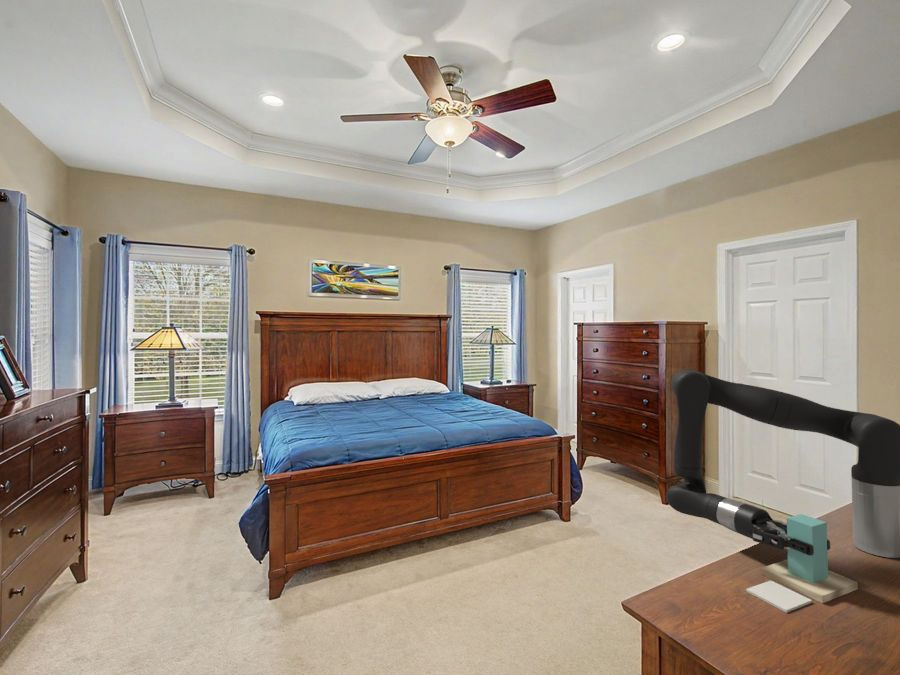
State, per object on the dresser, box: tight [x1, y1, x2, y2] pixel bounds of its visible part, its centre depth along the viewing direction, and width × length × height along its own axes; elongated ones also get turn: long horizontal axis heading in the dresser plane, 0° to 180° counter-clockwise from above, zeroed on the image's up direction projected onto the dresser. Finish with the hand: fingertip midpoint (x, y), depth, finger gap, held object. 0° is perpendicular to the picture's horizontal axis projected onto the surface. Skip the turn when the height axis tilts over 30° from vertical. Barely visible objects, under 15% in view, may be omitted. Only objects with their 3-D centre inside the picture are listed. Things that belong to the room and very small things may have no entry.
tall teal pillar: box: [786, 513, 829, 583], centre depth 98 cm, size 5×5×12 cm
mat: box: [745, 580, 813, 614], centre depth 92 cm, size 8×8×1 cm
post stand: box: [761, 558, 859, 604], centre depth 98 cm, size 12×12×6 cm
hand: (820, 548), depth 95 cm, fingers closed on tall teal pillar, 5 cm apart
